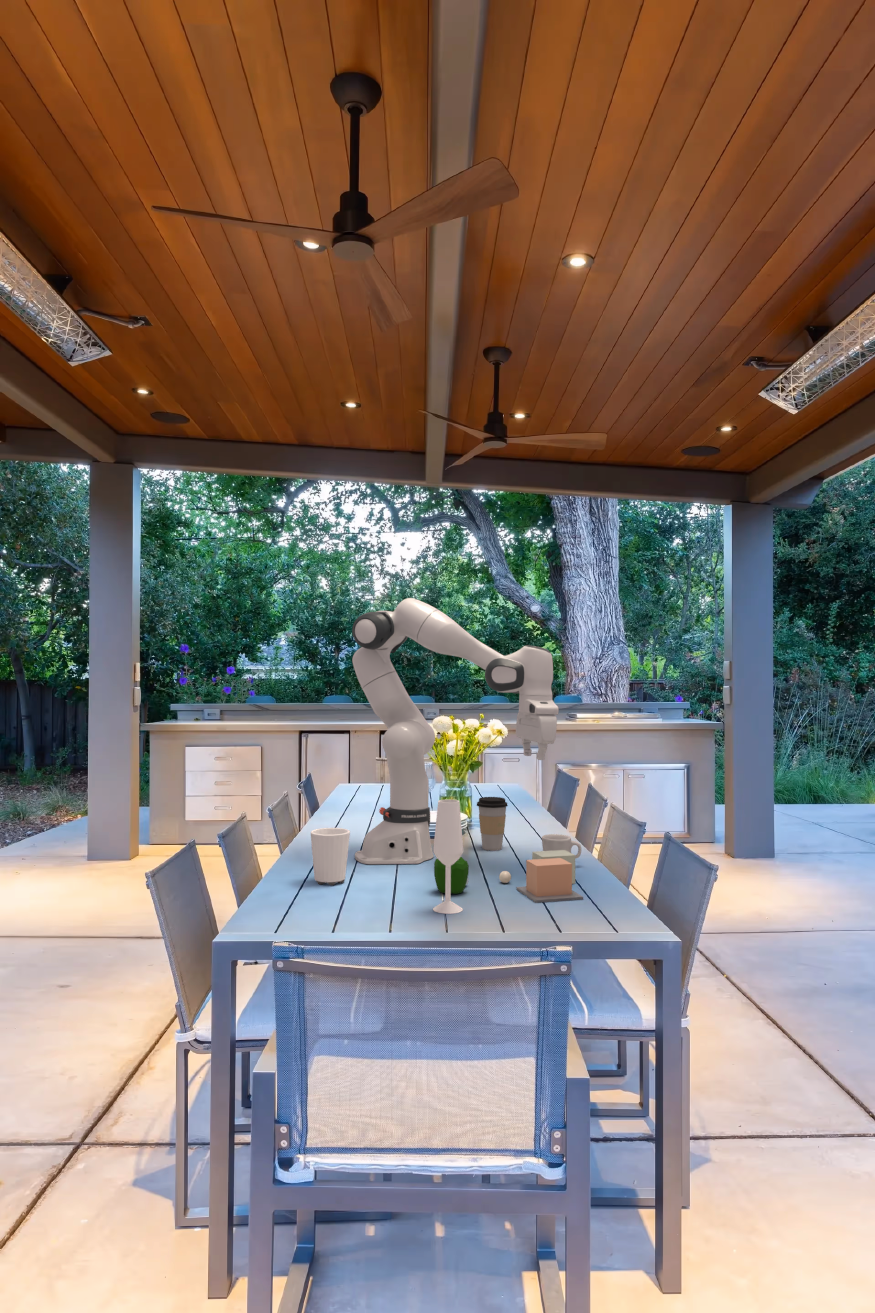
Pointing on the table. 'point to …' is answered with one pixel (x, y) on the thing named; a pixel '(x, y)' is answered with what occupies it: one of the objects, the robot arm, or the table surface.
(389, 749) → the robot arm
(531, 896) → the slate coaster
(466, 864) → the bell pepper
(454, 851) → the champagne flute
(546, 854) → the matte beige cube
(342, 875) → the cup
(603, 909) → the table surface
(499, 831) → the coffee cup
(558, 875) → the terracotta block
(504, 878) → the marble cream
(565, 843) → the cup
